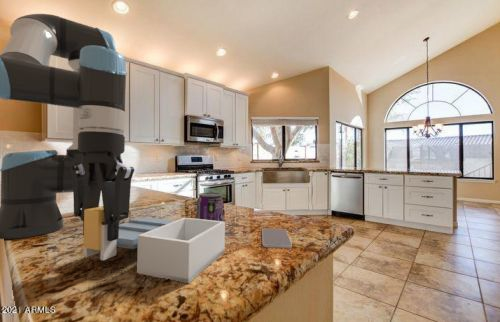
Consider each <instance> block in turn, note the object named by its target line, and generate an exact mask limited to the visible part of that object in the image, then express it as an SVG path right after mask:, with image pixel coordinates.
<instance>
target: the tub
mask: <svg viewBox="0 0 500 322" xmlns="http://www.w3.org/2000/svg"><path fill="white" fill-rule="evenodd" d="M225 239H226V221H224V220H223V221H214V220H204V219H197V218H193V217H182V218H180V219H177V220H176V221H174V222H171V223H169V224H166V225H164V226H161V227H158V228H156V229H153V230H151V231H148V232H145V233H143V234H140V235H138V247H137V256H136V258H137V259H136V261H137V262H136V273H137V274H140V275H145V276H150V277H153V278H160V279H163V278H165V280H168V279H170V280H169V281H173V280H175V282H178V281H179V282H178V283H183V282H184V283H183V284H188V283H189V284H191V282H193V280H194V279H195V278H197V276H199V275H200V274H201V273H203V271H204V270H206V269H207V268H208V267H209V266H210V265H211V264H212V263H214V262H215V261H216V260H217V259H218V258H220V257H221V256H222V255H223V253H225V251H226V249H225V247H226V243H225V242H226V240H225Z"/></svg>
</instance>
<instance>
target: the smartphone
mask: <svg viewBox="0 0 500 322" xmlns="http://www.w3.org/2000/svg"><path fill="white" fill-rule="evenodd" d="M261 233H262V234H261V237H262V239H261V240H262V241H261V242H262V247H264V248H273V249H274V248H277V249H291V248H293V243H292V241H291V239H290V236H289V234H288V231H287V229H285V228H265V227H264V228H261Z"/></svg>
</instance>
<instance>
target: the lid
mask: <svg viewBox="0 0 500 322" xmlns="http://www.w3.org/2000/svg"><path fill="white" fill-rule="evenodd" d="M112 216H113V215H112ZM103 221H105V217H104V209H103V205H102V206H99V207H96V208H90V209H85V210H84V237H83V249H84V248H88V249H94V250H99V249H100V250H101V224H102V223H101V222H103ZM174 221H177V220H176V219H175V220H173V219H165V218H156V217H148V216H147V217H146V216H144V217H141V218H138V219H132V218H131V219H128V221H127V222H124V223H121V224H120V223H119V237H118V239H117V247H120V248H125V249H130V250H131V249H132V250H134V249H137V248H138V235H140V234H143V233H145V232H148V231H151V230H153V229H156V228H158V227H161V226H164V225H166V224H169V223H171V222H174Z"/></svg>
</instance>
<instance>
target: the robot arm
mask: <svg viewBox="0 0 500 322" xmlns="http://www.w3.org/2000/svg"><path fill="white" fill-rule="evenodd" d="M9 33H10V38H9V39H8V41H7V42H6V44H5V45H4V47H3V49H2V51H1V52H0V99H2V100H4V101H5V100H7V101H8V100H11V101H19V102H26V103H27V102H28V103H36V104H44V105H52V106H53V105H54V106H58V107H66V108H73V110H72V111H73V112H72V117H73V118H72V144H71V145H70V146H68V147H67V148H66V150H65V151H66V154H59V153H58V151H57V150H55V149H48V150H47V149H44V150H43V149H42V150H31V151H17V152H8V153H6V154H5V155H3V157H2V160H1V166H0V167H1V168H0V240H8V239H9V240H10V239H11V240H12V239H21V238H22V239H24V238H28V237H29V238H30V237H37V236H41V235H42V236H43V235H45V234H49V233H52V232H56V231H58V230H61V229H62V228H63V227H64V218H63V216H62V213H61V211H60V209H59V206H58V203H57V194H61V193H73V197H72V198H73V216H74V217H76V218H78V217H79V218H80V220H81V221H82V236H83V238H84V210H85V209H90V208H96V207H100V200H101V198H102V206H103V209H104V217H105V221H103V222H101V223H102V224H101V249H99V250H94V249H88V248H84V247H83V258H88V257H91V256H94V255H95V254H98V253H99V254H100V258H99V259H100V261H105V260H108V259H110V258H113V257H115V256H117V247H118V246H117V239H118V237H119V225H120V222H121V221H123V220H126V219H128V218H129V215H130V202H131V201H130V200H131V186H132V185H131V184H132V178H133V175H134V173H135V168H134V166H127V165H126V164H124V161H123V159H122V156H121V155H122V154H123V153H125V147H126V145H125V144H126V141H125V138H126V137H125V135H124V134H122V133H125V132H126V86H127V83H126V82H127V75H128V72H127V66H126V65H127V62H126V59H125V57H124V56H123V54H121V53H119V52H118V51H117V48H116V43H115V40H114V36H113V35H112V34H111V33H109V32H108V31H105V30H102V29H100V28H98V27H93V26H91V25H86V24H83V23H81V22H77V21H74V20H71V19H68V18H64V17H61V16H59V15H55V14H49V13H31V14H26V15H23V16H19V17H18V18H16V19H15V20H14V21H13V22H12V24H11V25H10V30H9ZM51 56H54V57H59V58H61V59H62V58H63V59H66V60H67V61H68V62H67V64H68V66H69V67H70V68H71V69H72V70H69V69H64V68H60V67H55V66H50V61H51ZM112 215H113V216H112Z"/></svg>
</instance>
